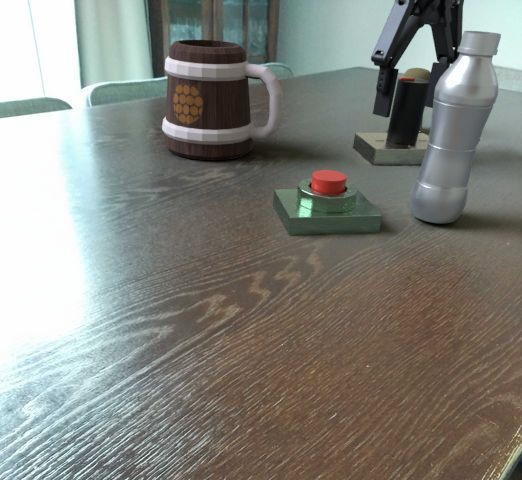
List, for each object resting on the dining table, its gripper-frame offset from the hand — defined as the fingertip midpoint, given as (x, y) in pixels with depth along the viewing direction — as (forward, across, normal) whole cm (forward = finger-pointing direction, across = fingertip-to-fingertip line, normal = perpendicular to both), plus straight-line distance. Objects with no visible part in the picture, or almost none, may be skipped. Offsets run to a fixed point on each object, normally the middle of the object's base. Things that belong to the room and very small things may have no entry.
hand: (406, 111), depth 80 cm
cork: (+7, -16, -10) cm, 21 cm away
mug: (+7, +24, -18) cm, 31 cm away
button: (+3, +31, +12) cm, 34 cm away
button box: (+7, +31, +12) cm, 34 cm away
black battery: (+4, 0, 0) cm, 4 cm away
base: (+7, 0, 0) cm, 7 cm away
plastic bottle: (+7, +20, +20) cm, 29 cm away
